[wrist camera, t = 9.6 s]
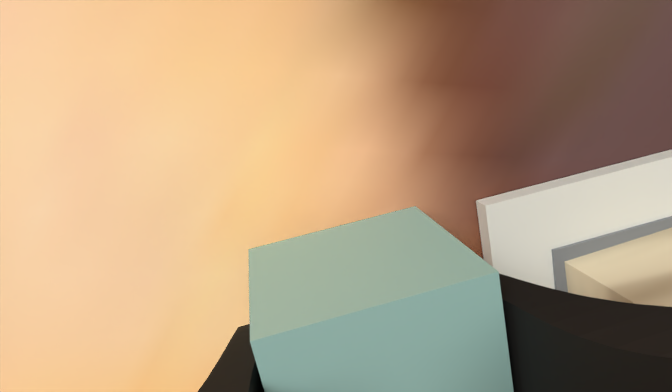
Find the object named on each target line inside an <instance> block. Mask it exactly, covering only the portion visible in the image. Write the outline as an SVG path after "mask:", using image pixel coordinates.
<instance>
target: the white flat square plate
mask: <svg viewBox="0 0 672 392" xmlns="http://www.w3.org/2000/svg"><path fill="white" fill-rule="evenodd" d="M476 205H477V213H478V220H479V228H480V236H481V243H482V251H483V258H484V261H486V262H487V263H488V264H490V265H491V266H492V267H493V268H495V269H496V270H497V271H498V272H499V274H503V275H506V276H509V277H513V278H516V279H519V280H523V281H526V282H529V283H533V284H536V285H540V286H544V287H548V288H552V289H556V290H560V291H564V292H568V288H567V280H566V271H565V263H564V262H565V261H568V260H571V259H574V258H577V257H580V256H584V255H587V254H590V253H593V252H596V251H599V250H603V249H606V248H609V247H612V246H615V245H618V244H621V243H625V242H628V241H631V240H634V239H637V238H640V237H643V236H647V235H650V234H653V233H656V232H659V231H662V230H665V229H669V228H672V150H668V151H664V152H660V153H656V154H653V155H649V156H645V157H641V158H637V159H633V160H630V161H626V162H622V163H618V164H614V165H610V166H607V167H603V168H599V169H595V170H591V171H587V172H584V173H580V174H576V175H572V176H568V177H564V178H561V179H557V180H553V181H549V182H545V183H541V184H538V185H534V186H530V187H526V188H522V189H518V190H515V191H511V192H507V193H503V194H499V195H495V196H492V197H488V198H484V199H480V200H476Z"/></svg>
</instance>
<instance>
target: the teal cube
mask: <svg viewBox="0 0 672 392" xmlns="http://www.w3.org/2000/svg"><path fill="white" fill-rule="evenodd" d="M249 314H250V344H251V347H252V350H253V354H254V357H255V361H256V364H257V368H258V371H259V374H260V378H261V381H262V385H263V388H264V391H265V392H514V390H513V382H512V374H511V366H510V358H509V350H508V342H507V334H506V326H505V318H504V310H503V302H502V295H501V287H500V279H499V272H498V271H497V270H496V269H495V268H493V267H492V266H491V265H490V264H488V263H487V262H486V261H484V260H483V259H482V258H481V257H479V256H478V255H477V254H476V253H474V252H473V251H472V250H470V249H469V248H468V247H467V246H465V245H464V244H463V243H462V242H460V241H459V240H458V239H456V238H455V237H454V236H453V235H451V234H450V233H449V232H448V231H446V230H445V229H444V228H442V227H441V226H440V225H439V224H437V223H436V222H435V221H434V220H432V219H431V218H430V217H428V216H427V215H426V214H425V213H423V212H422V211H421V210H420V209H418V208H417V207H416V206H414V207H410V208H406V209H403V210H399V211H395V212H391V213H387V214H383V215H379V216H376V217H372V218H368V219H364V220H360V221H356V222H352V223H348V224H345V225H341V226H337V227H333V228H329V229H325V230H321V231H318V232H314V233H310V234H306V235H302V236H298V237H294V238H290V239H287V240H283V241H279V242H275V243H271V244H267V245H263V246H260V247H256V248H252V249H249Z"/></svg>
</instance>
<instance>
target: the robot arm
mask: <svg viewBox="0 0 672 392" xmlns="http://www.w3.org/2000/svg"><path fill="white" fill-rule="evenodd" d="M499 279H500V287H501V295H502V302H503V310H504V318H505V326H506V334H507V342H508V350H509V358H510V366H511V374H512V382H513V390H514V392H672V307H667V306H655V305H644V304H634V303H625V302H618V301H611V300H605V299H599V298H593V297H587V296H582V295H577V294H573V293H568V292H564V291H560V290H556V289H552V288H548V287H544V286H540V285H536V284H533V283H529V282H526V281H523V280H519V279H516V278H513V277H509V276H506V275H503V274H499ZM198 392H265V391H264V388H263V385H262V381H261V378H260V374H259V371H258V368H257V364H256V361H255V357H254V354H253V350H252V347H251V344H250V324H248V325H245V326H241V327H238V329H237V330H236V332H235V333H234V335H233V337H232V338H231V340H230V342H229V344H228V345H227V347H226V349H225V351H224V352H223V354H222V356H221V357H220V359H219V361H218V362H217V364H216V365H215V367H214V369H213V370H212V372H211V373H210V375H209V377H208V378H207V380H206V381H205V382H204V384H203V385H202V387H201V388H200V389H199V391H198Z"/></svg>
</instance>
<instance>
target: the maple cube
mask: <svg viewBox="0 0 672 392" xmlns="http://www.w3.org/2000/svg"><path fill="white" fill-rule="evenodd" d="M564 263H565V271H566V280H567V288H568V293H573V294H577V295H582V296H587V297H593V298H599V299H605V300H611V301H618V302H625V303H634V304H644V305H655V306H667V307H672V228H669V229H665V230H662V231H659V232H656V233H653V234H650V235H647V236H643V237H640V238H637V239H634V240H631V241H628V242H625V243H621V244H618V245H615V246H612V247H609V248H606V249H603V250H599V251H596V252H593V253H590V254H587V255H584V256H580V257H577V258H574V259H571V260H568V261H565V262H564Z"/></svg>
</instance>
